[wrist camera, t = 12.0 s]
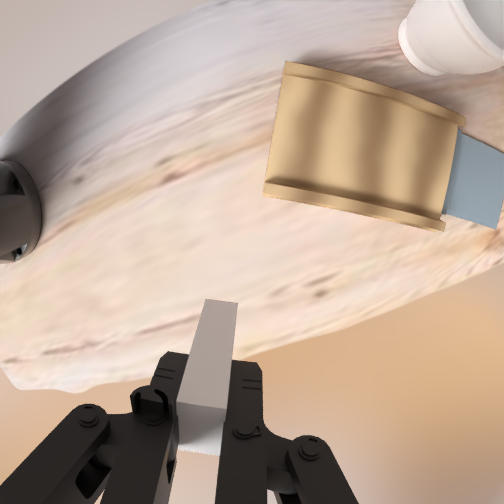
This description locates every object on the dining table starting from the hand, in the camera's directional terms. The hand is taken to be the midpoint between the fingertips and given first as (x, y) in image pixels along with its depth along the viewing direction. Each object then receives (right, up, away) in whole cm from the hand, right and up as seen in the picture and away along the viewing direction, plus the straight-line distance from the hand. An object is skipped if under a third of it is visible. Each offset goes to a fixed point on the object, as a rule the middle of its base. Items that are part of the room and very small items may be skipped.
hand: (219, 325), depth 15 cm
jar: (+23, +29, +13) cm, 39 cm away
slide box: (+14, +15, +17) cm, 27 cm away
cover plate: (+30, +13, +18) cm, 37 cm away
